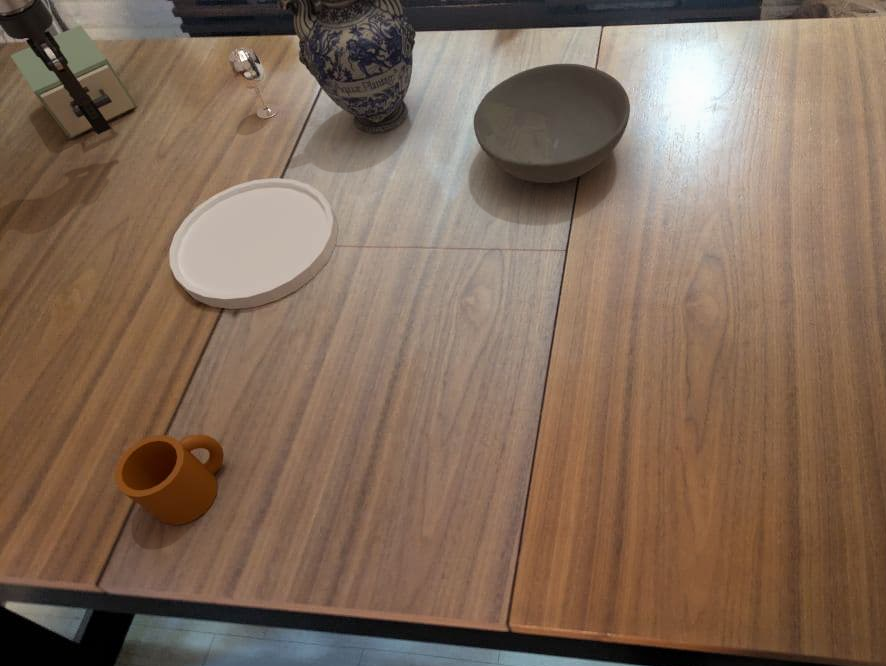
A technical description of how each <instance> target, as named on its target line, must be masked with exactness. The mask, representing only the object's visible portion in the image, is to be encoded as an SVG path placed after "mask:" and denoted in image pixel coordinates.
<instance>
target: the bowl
mask: <svg viewBox="0 0 886 666" xmlns="http://www.w3.org/2000/svg"><path fill="white" fill-rule="evenodd" d="M630 115H631V104H630V99H629V96H628V93H627V91H626V89H625V88H624V86H623V85H622V84H621V83H620V82H619V81H618V80H617V78H615V77H614V76H612V75H611V74H609V73H607V72H606V71H603V70H601V69H598V68H596V67H593V66H589V65H584V64H579V63H553V64H545V65H539V66H535V67H532V68H529V69H525V70H523V71H521V72H518V73H516V74H513V75H511V76H510V77H508V78H506V79H504V80H503V81H501V82H500V83H498V84H497V85H495V86H494V87H493V88H492V89H491V90H489V91H488V92H486V93H485V96H484V97H483V98H482V100H481V101H480V103H479V104H478V106H477V108H476V111H475V113H474V115H473V130H474V135H475V138H476V140H477V142H478V144H479V147H480V148H481V149H482V151H483V153H485V155H486V156H487V157H488V158H489V159H490V160H491V161H492V163H494V164H495V165H497V166H498V167H499V168H501V169H502V170H503V171H505V172H506V173H508V174H510V175H512V176H513V177H514V178H517V179H520V180H523V181H526V182H527V181H528V182H533V183H538V184H540V183H541V184H552V183H561V182H567V181H569V180H573V179H576V178H578V177H581V176H582V175H585V174H586V173H587V172H590V171H591V170H593V169H595V167H597V166H598V165H599V164H601V163H602V162H604V160H605V159H607V158H608V157H609V156H610V155H611V154H612V152H614V150H615V148H616V147H617V146H618V144H619V143H620V141H621V139H622V137H623V136H624V133H625V131H626V129H627V126H628V123H629V119H630Z"/></svg>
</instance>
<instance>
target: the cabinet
mask: <svg viewBox="0 0 886 666" xmlns="http://www.w3.org/2000/svg"><path fill="white" fill-rule="evenodd" d="M52 37H53V38H54V39H55V41H56V42H57V43H58V45H59V47H60V51H61V52H62V53H63V55H64V56H65V58H66V59H67V61H68V67H69V68H70V70H71V71H72V73H73V74H74V76H75V77H78V76H80V75H83V74H85V73H87V72H89V71H91V70H94V69H96V68H98V67H100V66H102V65H103V66H105V65H107V66H108V67H109V68H110V70H111V71H112V73H113V74H114V76H115V77H116V79H117V81H118V82H119V84H120V85H121V87H122V88H123V90H124V91H125V93H126V94H127V96H128V97H129V99H130V100H131V102H132V104H133V105H134V107H133V108H134V109H136V108H138V107H137V106H138V105H137V103H136V102H135V100H134V98H133V97H132V96H131V94H130V92H129V90H128V89H127V88H126V86H125V85H124V83H123V81H122V80H121V79H120V77H119V76H118V73H117V71H115V69H114V68H113V66H112V64H111V63H110V61H109V60H108V58H107V57H106V56H105V54H103V52H102V51H101V50H100V48H99V47H98V46H97V44H96V43H95V42H94V41H93V39H92V38H91V36H90V35H89V34H88V33H87V32H86V30H85V29H84V28H83V26H82V25H81V24H79V25H77V26H74V27H72V28H70V29H68V30H65V31H63V32H61V33H59V34H56V35H54V36H52ZM55 50H56V49H55ZM10 57H11V59H12V61H13V62H14V64H15V65H16V66H17V69H18V70H19V72H20V74H21V75H22V77H23V78H24V80H25V81H26V83H27V84H28V86H29V88H30V89H31V91H32V92H33V94H34V95H35V96H36V98H37V99H38V100H39V101H40V102H41V104H42V105H43V106H44V108H45V109H46V110H47V112H48V113H49V114H50V115H51V116H52V118H53V119H54V121H55V122H56V123H57V124H58V126H59V127H60V128H61V129H62V131H63V132H64V134H65V135H66V136H67V137H68V139H69V140H71V139H73V138H75V137H78V136H79V135H82V134H85V132H88V131H90V130H92V129H93V127H91V128H89V129H87V130H85V131H83V132H81V133H79V134H76V135H74V136H71V135H70V134H69V133H68V131H67V130H66V129H65V127H64V126H63V125H62V123H61V122H60V121H59V120H58V118H57V117H56V116H55V114H54V113H53V112H52V110H51V109H50V108H49V107H48V105H47V104H46V103H45V101H44V100H43V99H42V97H41V96H40V95H41V94H43V92H45V91H47V90H50V89H52V88H54V87H56V86H58V85H61V84H62V83H61V81H60V80H59V78H58V77H57V76H56V74H55V73H54V72H53V71H50V70H48V68H47V67H46V66H45V64H44V63H43V61H42V60H41V59H40V58H39V57H37V56H36V54H35V53H34V52H33V50H32V49H31V47H30V46H29V47H27V48H24V49H22V50H19V51H17V52H15V53H12V54H11V55H10ZM135 107H136V108H135ZM133 108H131V109H132V110H134V109H133ZM131 109H129V110H130V111H132V110H131ZM127 111H128V110H127ZM125 112H126V111H125ZM128 112H129V111H128ZM123 113H124V112H123ZM123 113H121V114H118V115H116V116H114V117H112V118H110V119H108V120H106V121H107V122H109V121H111V120H113V119H115V118H118V117H120V116H121V115H124V114H125V113H124V114H123ZM126 113H127V112H126Z"/></svg>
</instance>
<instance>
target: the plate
mask: <svg viewBox="0 0 886 666" xmlns="http://www.w3.org/2000/svg"><path fill="white" fill-rule="evenodd" d="M338 231H339V229H338V225H337V219H336V215H335V214H334V211H333V209H332V207H331V205H330V203H329V201H328V200H327V199H326V197H325V196H324V194H323V193H322V192H321V191H319V190H317V188H314V187H313V186H312V185H310V184H308V183H304V182H302V181H299V180H296V179H292V178H291V179H289V178H280V177H279V178H278V177H270V178H261V179H254V180H250V181H247V182H242V183H240V184H236V185H233V186H231V187H229V188H227V189H224V190H222V191H220V192H218V193H216V194H214V195H213V196H211V197H210V198H208V199H206V200H205V201H203V202H202V203H200V204H199V205H198V206H196V207H195V208H194V210H193V211H191V212H190V213H189V215H187V216H186V217H185V218H184V219H183V221H182V222H181V224H180V226H179V227H178V229H177V230H176V231H175V233H174V235H173V237H172V242H171V244H170V248H169V252H168V253H169V254H168V255H169V267H170V269H171V271H172V273H173V276H174V278H175V280H176V281H177V282H178V283H179V285H180V286H181V287H182V289H183V290H184V291H185V292H187V294H189V295H190V297H192V298H193V299H194V300H196V301H198V302H200V303H203V304H205V305H207V306H210V307H211V308H212V307H213V308H219V309H228V310H237V309H239V310H240V309H249V308H256V307H259V306H263V305H267V304H269V303H270V304H271V303H273V302H277V301H279V300H280V299H282V298H284V297H286V296H289V295H291V294H293V293H294V292H297V291H298V290H299V289H301V288H302V287H304V286H305V285H306V284H307V283H308V282H310V281H311V280H313V279H314V278H315V277H316V276H317V275H318V274H319V272H320V271H322V269H323V268H324V267H325V266H326V264H327V263H328V262H329V260H330V258H331V256H332V254H333V252H334V250H335V248H336V246H337V239H338V233H339V232H338Z"/></svg>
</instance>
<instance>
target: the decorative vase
mask: <svg viewBox="0 0 886 666" xmlns="http://www.w3.org/2000/svg"><path fill="white" fill-rule="evenodd" d="M276 2H277V8H278V9H279V10H284V11H288V10H290V13H292V14H293V26H294V31H295V34H296V36H297V38H298V39H299V41H298V46H299V51H298V60H299V62H300V63H301V64H302V65H303V66H305V68H306V70H307V71H308V72H309V73H310V75H311V76H312V77H314V78H315V80H316V82H317V83H318V85H319V87H320V88H321V89H322V91H323V92H324V93H325V94H326V95H327V96H328V97H329V98H330V99H331V100H332V102H334V104H336V106H338V107H339V108H340V109H342V110H344V111H345V112H347V113H349V114H350V115H353V116H352V118H353V123H354V125H355V126H356V128H357V129H359V130H360V131H362V132H364V133H369V134H380V133H385V132H389V131H392V130H394V129H395V128H398V127H399V126H400V125H401V124H403V123H404V122H405V120H406V119H407V117H406V116H408V112H409V110H408V106H407V104H406V102H405V101H404V100H405V97H406V95H407V93H408V91H409V87H410V84H411V79H412V74H413V73H412V72H413V62H414V61H413V50H414V46H415V44H416V41H415V38H416V35H417V33H416V31H415V30H414V28H413V26H412V24H410V23H409V20H408V19H409V18H408V17H406V16H405V15H404V13H403V7H402V3H401V2H400V0H319V1H317V2H316V3H315V1H314V0H276ZM405 118H406V119H405ZM397 126H398V127H397ZM391 129H392V130H391Z"/></svg>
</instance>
